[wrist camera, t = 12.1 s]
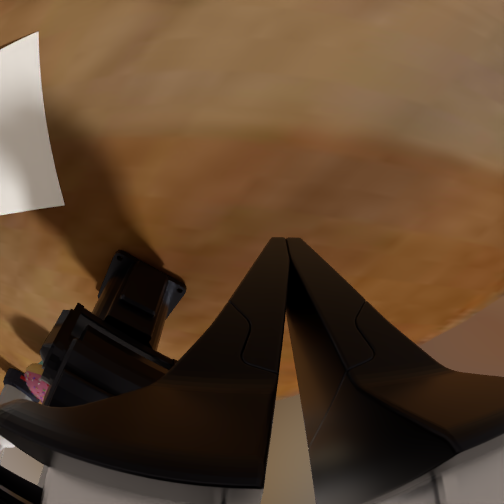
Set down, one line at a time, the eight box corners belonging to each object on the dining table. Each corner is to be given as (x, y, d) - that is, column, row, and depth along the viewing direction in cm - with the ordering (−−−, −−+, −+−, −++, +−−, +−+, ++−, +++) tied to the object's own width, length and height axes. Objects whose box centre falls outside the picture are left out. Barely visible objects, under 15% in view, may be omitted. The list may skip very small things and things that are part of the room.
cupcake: (84, 384, 37) (62, 453, 27) (36, 357, 34) (8, 423, 24) (95, 363, 33) (68, 445, 23) (39, 331, 30) (2, 409, 20)
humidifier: (33, 376, 38) (-8, 496, 18) (48, 398, 43) (16, 505, 23) (1, 362, 38) (-41, 472, 17) (18, 385, 42) (-17, 485, 22)
